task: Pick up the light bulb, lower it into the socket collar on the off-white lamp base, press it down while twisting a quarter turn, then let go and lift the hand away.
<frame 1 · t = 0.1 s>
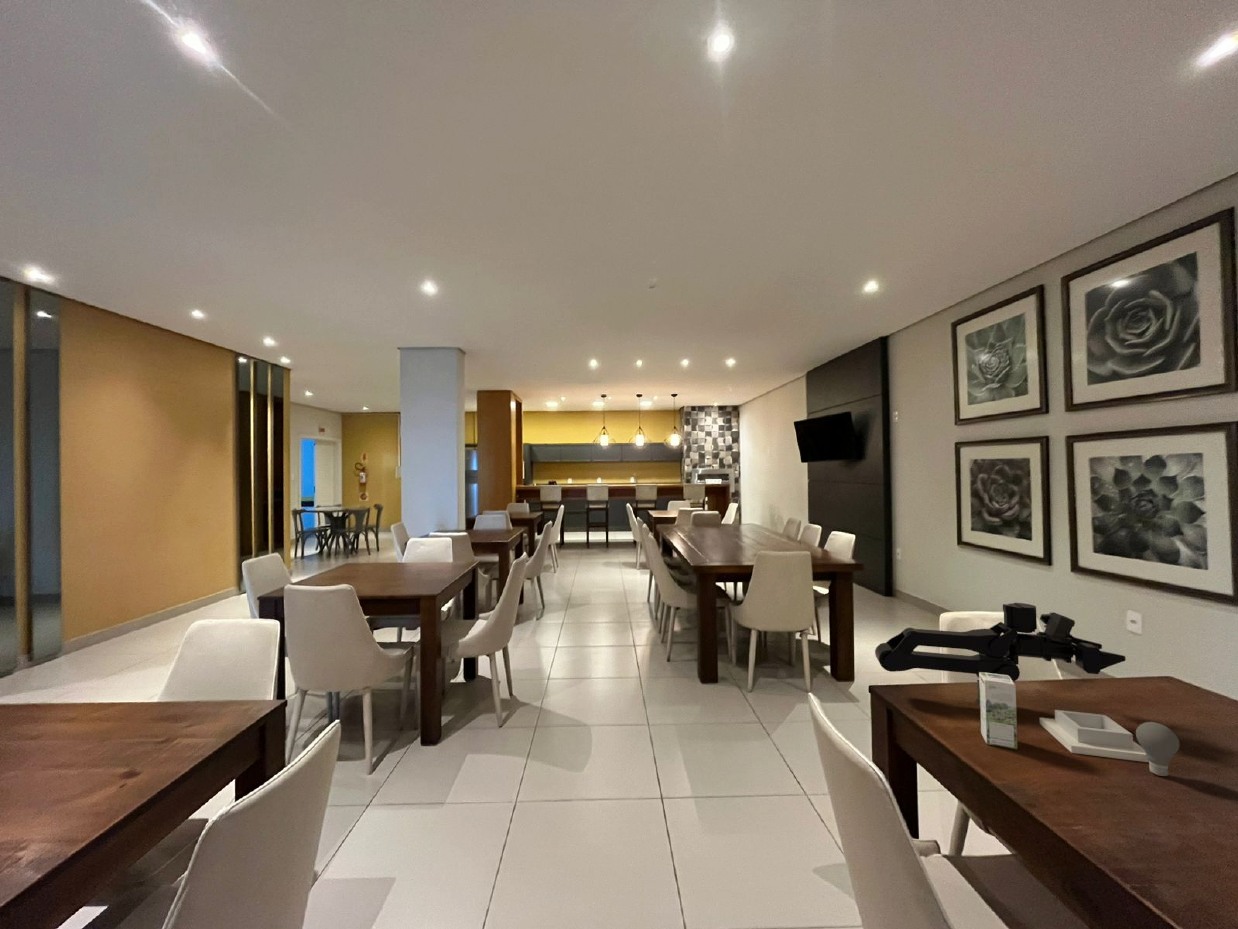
hand: (1112, 652, 125), 17 cm above the table, tool horizontal, fingers open, 9 cm apart
light bulb: (1158, 775, 101), on the table
socket base: (1092, 741, 114), on the table
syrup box: (998, 742, 114), on the table
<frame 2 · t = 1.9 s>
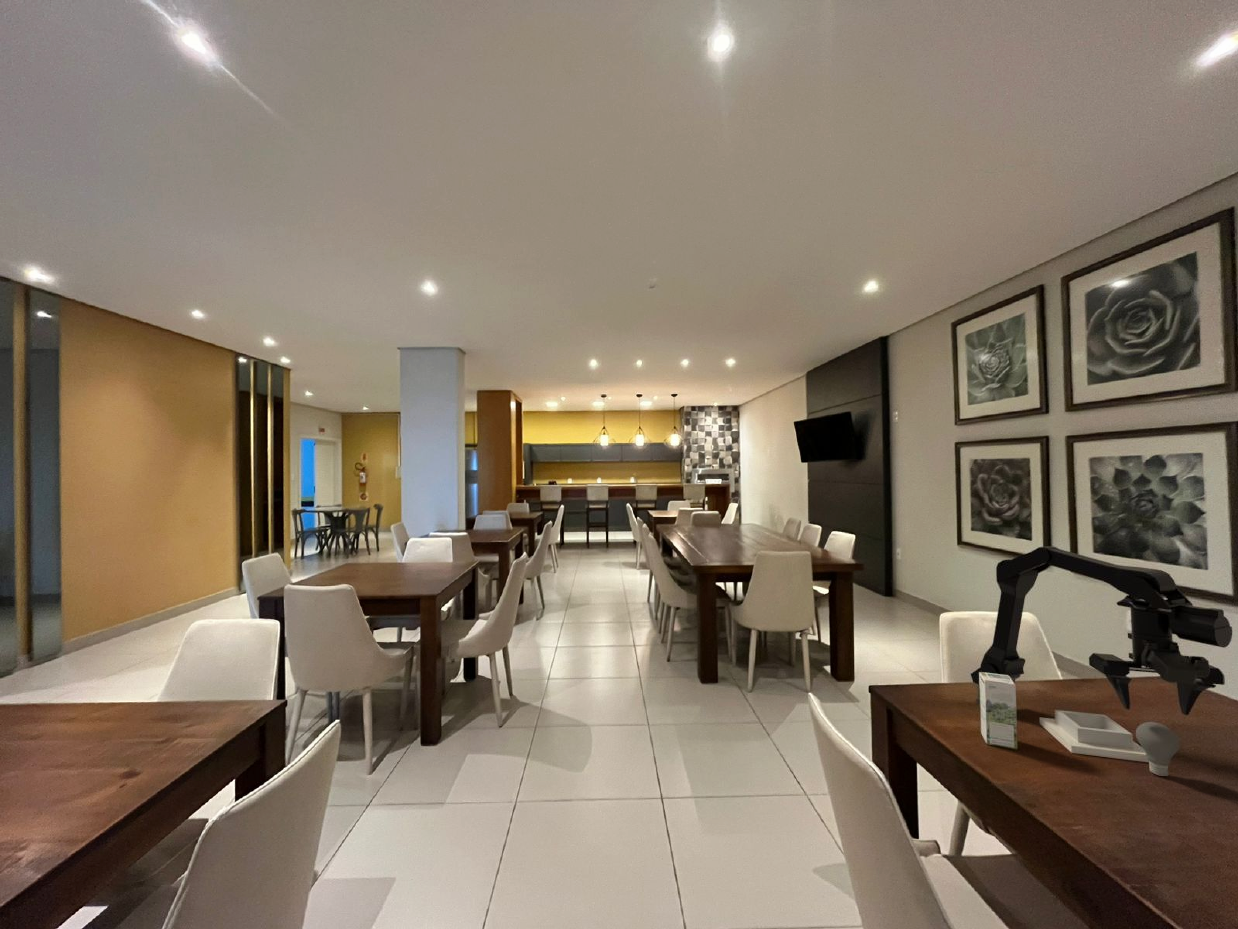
hand: (1155, 711, 102), 12 cm above the table, tool pointing down, fingers open, 9 cm apart
nothing on the table moved.
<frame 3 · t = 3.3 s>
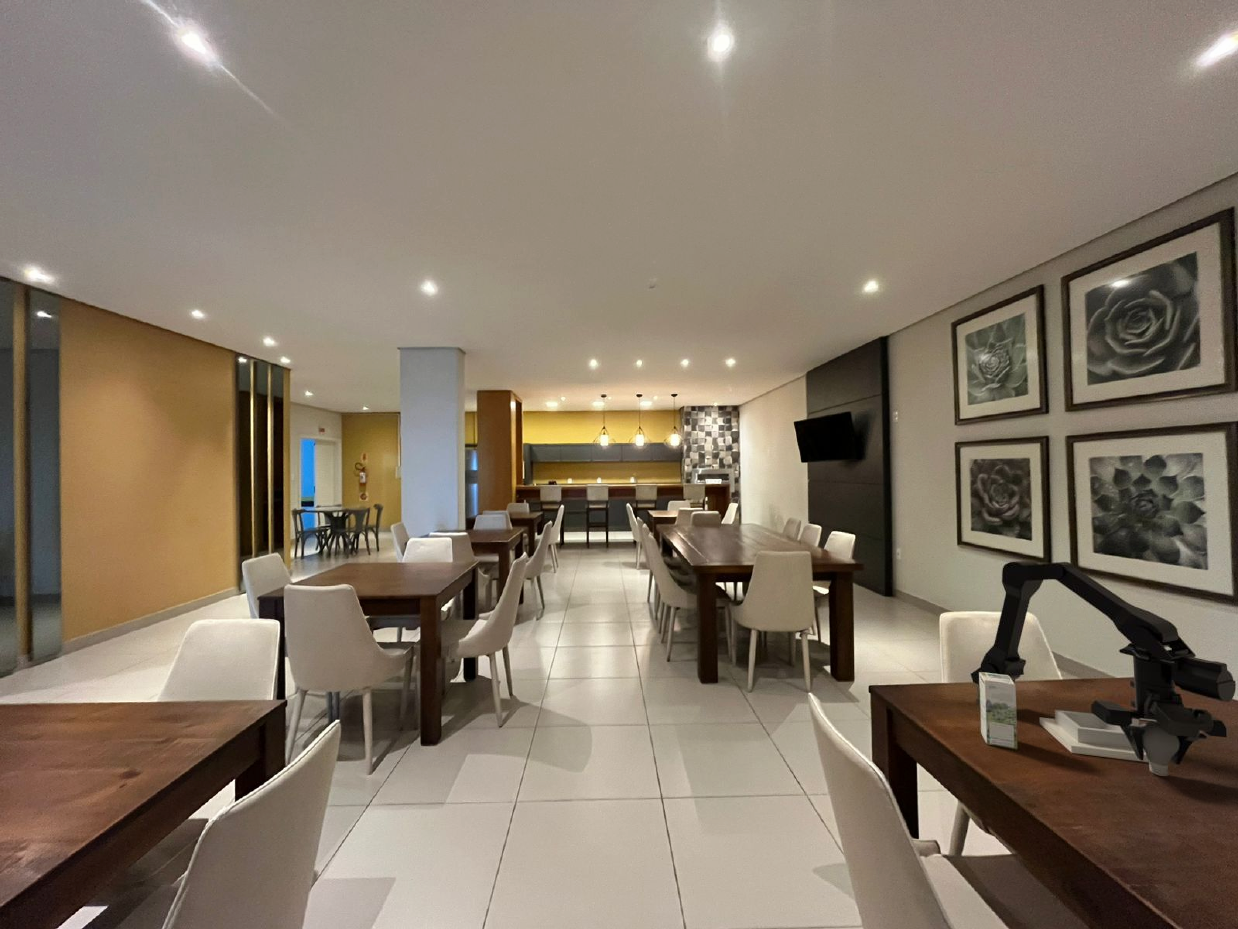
hand: (1158, 761, 101), 3 cm above the table, tool pointing down, fingers closed on light bulb, 5 cm apart
light bulb: (1158, 775, 101), on the table, touching gripper
everything else where it was.
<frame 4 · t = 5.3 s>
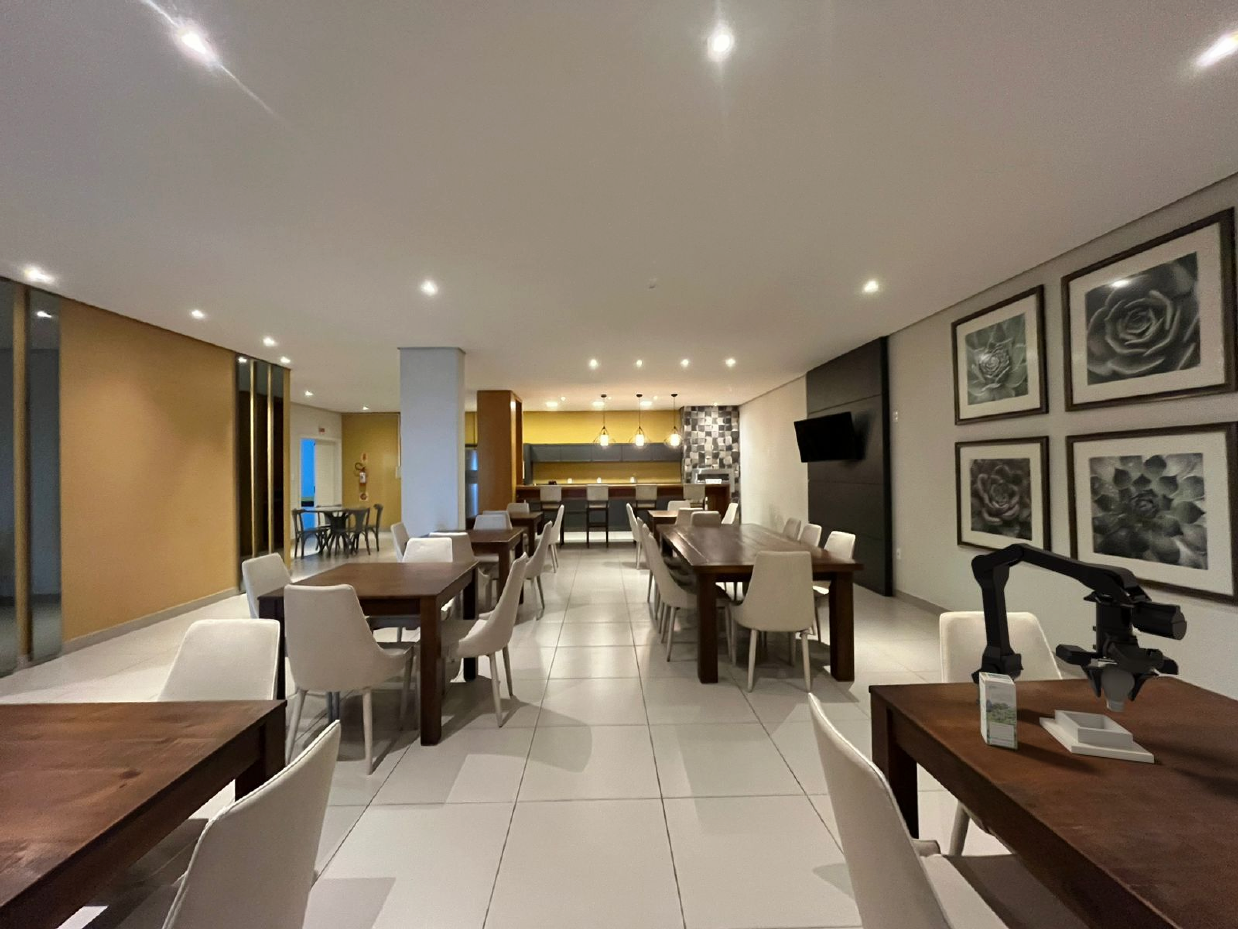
hand: (1114, 698, 109), 12 cm above the table, tool pointing down, fingers closed on light bulb, 5 cm apart
light bulb: (1115, 711, 109), point 9 cm above the table, touching gripper
everything else where it was.
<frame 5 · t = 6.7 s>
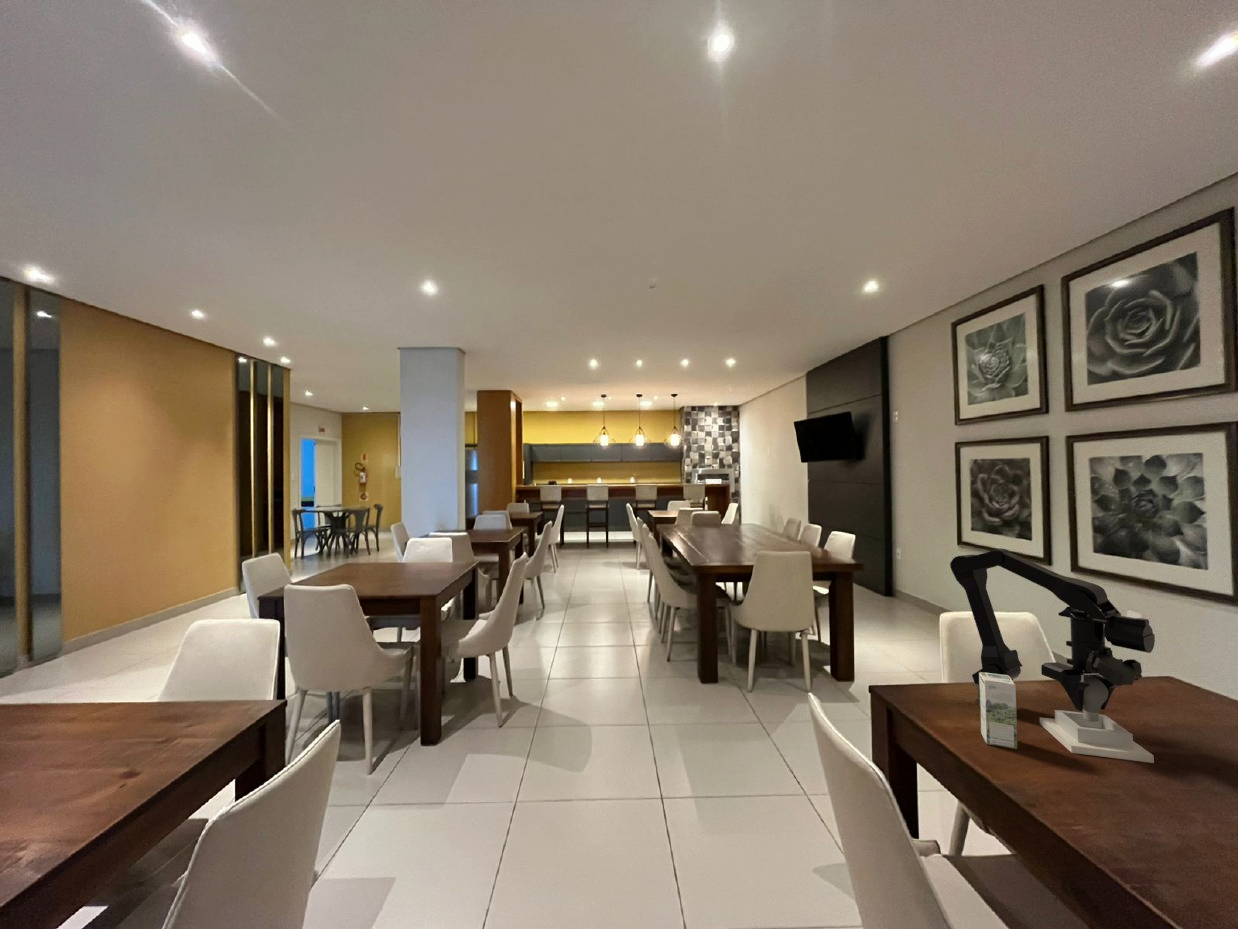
hand: (1090, 709, 114), 7 cm above the table, tool pointing down, fingers closed on light bulb, 5 cm apart
light bulb: (1091, 722, 114), point 4 cm above the table, touching gripper
everything else where it was.
when the fingers open (5 cm above the table, at t = 7.6 s): light bulb stays where it is, resting on socket base.
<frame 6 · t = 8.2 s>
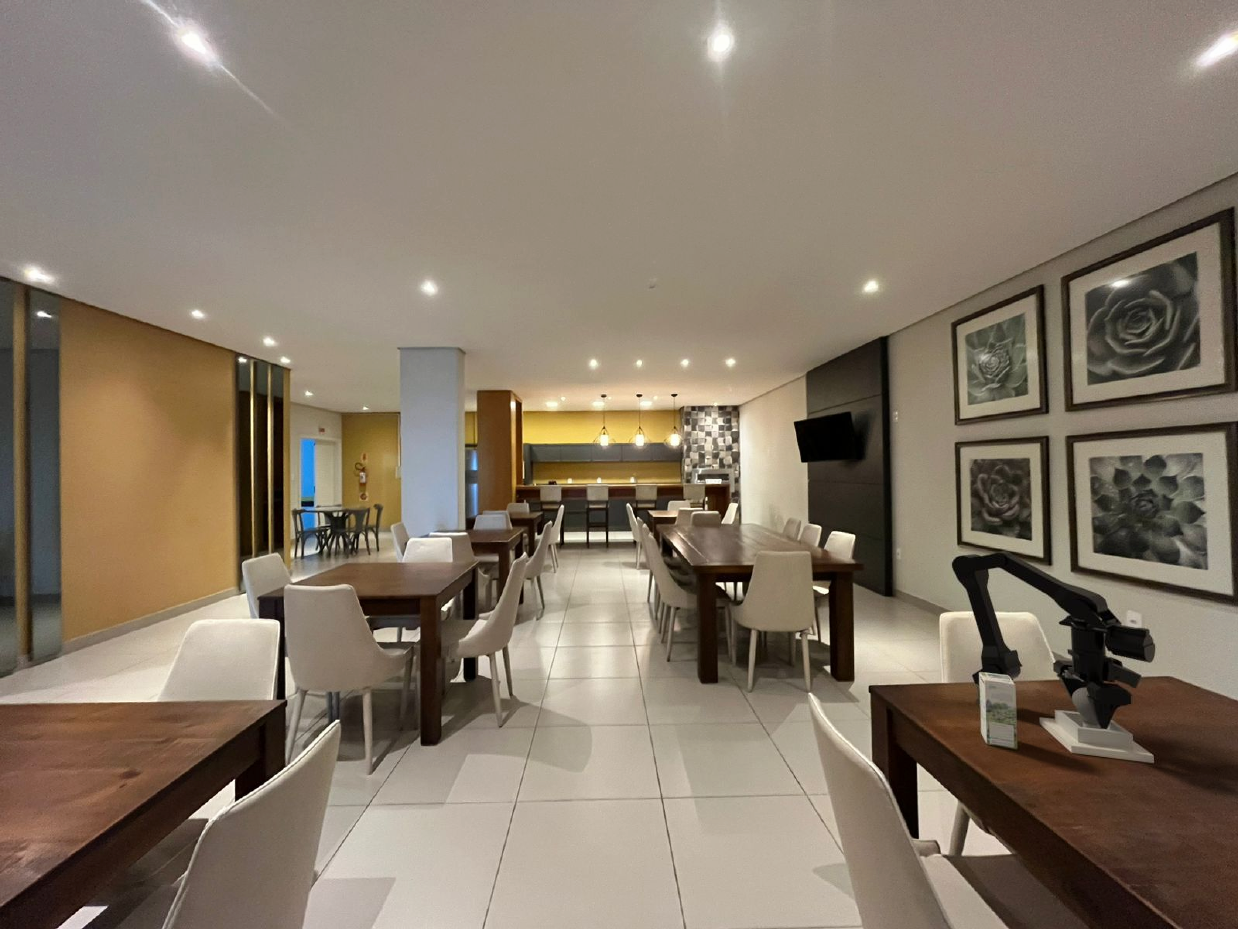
hand: (1091, 719, 114), 5 cm above the table, tool pointing down, fingers open, 9 cm apart
light bulb: (1091, 734, 114), point 2 cm above the table, touching socket base
everything else where it was.
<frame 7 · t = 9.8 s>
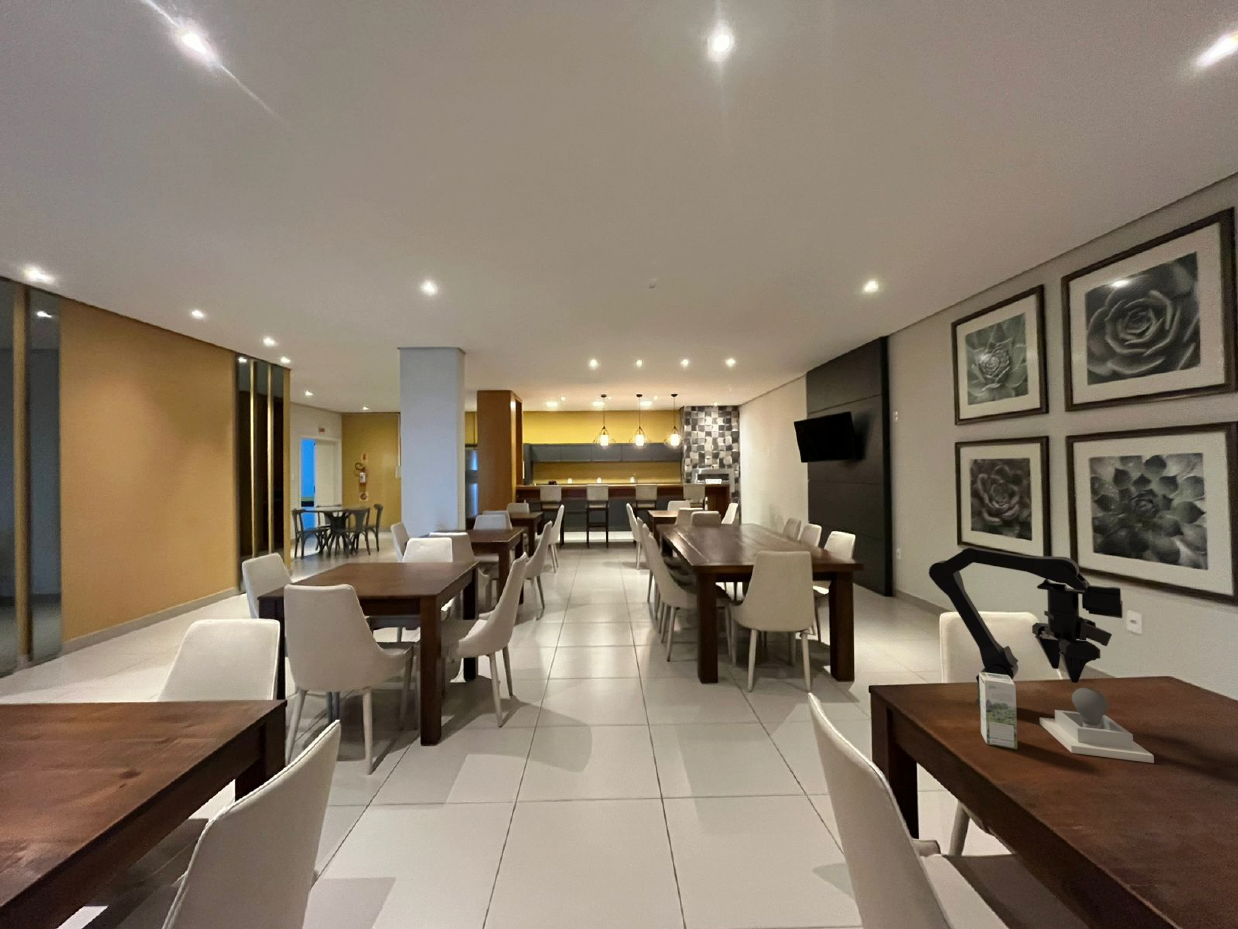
hand: (1064, 675, 122), 12 cm above the table, tool pointing down, fingers open, 9 cm apart
nothing on the table moved.
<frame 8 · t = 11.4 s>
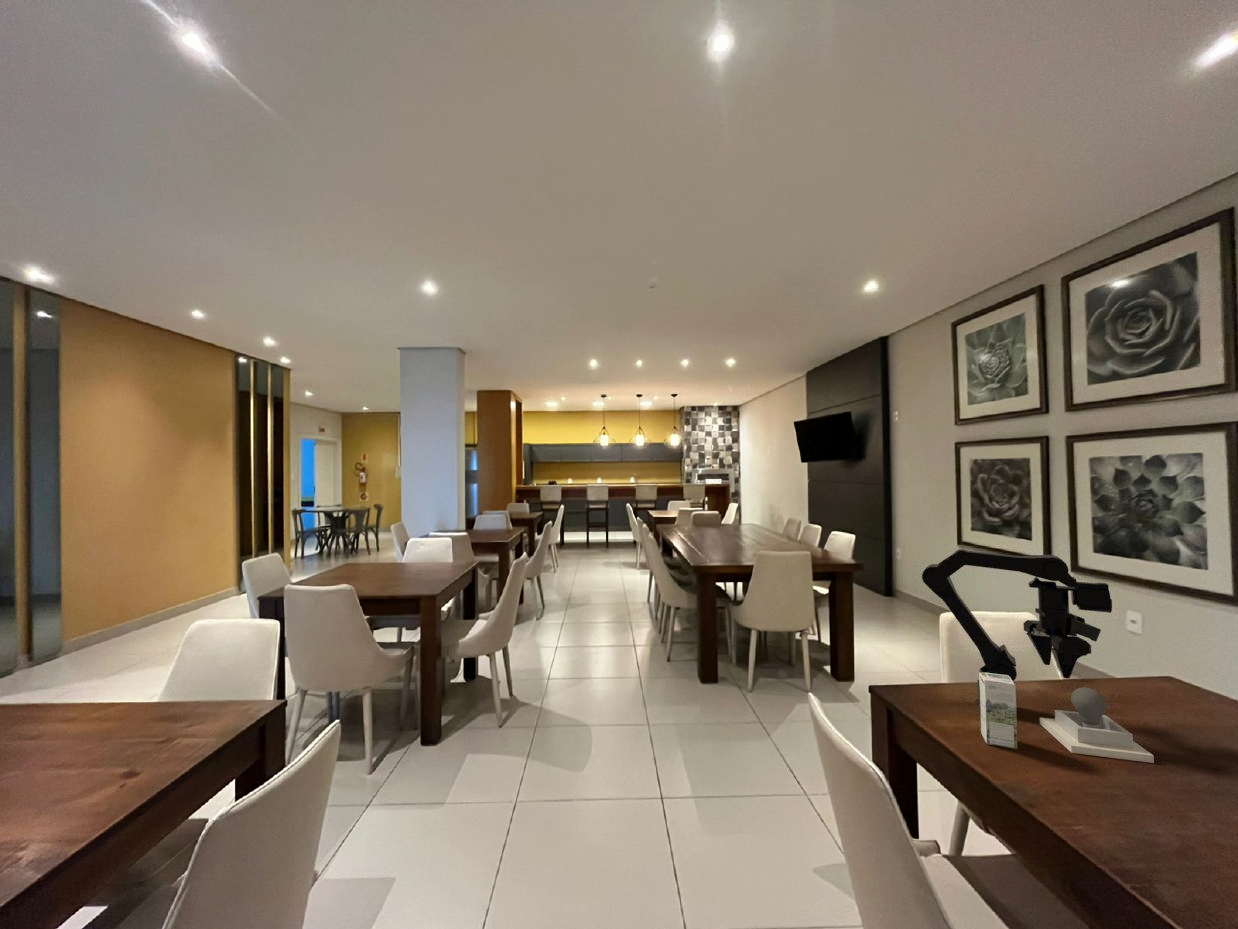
hand: (1056, 671, 125), 12 cm above the table, tool pointing down, fingers open, 9 cm apart
nothing on the table moved.
at the end: light bulb 0.2 cm off-centre on the socket base, point 1.5 cm above the socket base's base; light bulb tilted 2°; the gripper is holding nothing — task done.
